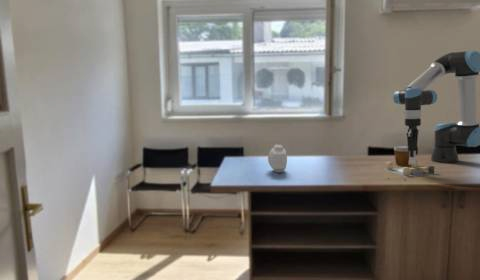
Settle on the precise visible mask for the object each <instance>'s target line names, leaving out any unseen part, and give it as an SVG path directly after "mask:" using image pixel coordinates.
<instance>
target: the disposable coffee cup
mask: <svg viewBox="0 0 480 280" xmlns="http://www.w3.org/2000/svg"><path fill="white" fill-rule="evenodd" d="M393 152H394V158H395V159H394V161H395V165H396V166H400V167H408V166H409V151H408V145H394V148H393Z"/></svg>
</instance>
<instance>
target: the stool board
mask: <svg viewBox="0 0 480 280" xmlns="http://www.w3.org/2000/svg"><path fill="white" fill-rule="evenodd" d="M416 167H418V160H417V159H416V163H411V166H400V167H394V162H392V161H387V162H386V168H384V170H385V171H387V172H389V173H393V174H395V175H398V176H401V177H404V179H403V180H407V179H405V178H406V177H407V178H408V177H409V178H410V177H418V176H419V177H420V176H430V175H439V174H440V173H438V172H435V171H434V173H423V170H416V171H413V174H409V168H416Z"/></svg>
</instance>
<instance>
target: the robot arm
mask: <svg viewBox="0 0 480 280" xmlns="http://www.w3.org/2000/svg"><path fill="white" fill-rule="evenodd" d="M447 74H454V77H455V78H456V79H457V81H458V121H457V122H447V123H438V124H437V123H436V125H435V127H434V147H433V151H432V154H431V156H430V161H432V162H436V163H445V164H446V163H449V164H451V163H453V164H454V163H458V162H459V160H460V159H459V155H458V151H457V146H461V147H468V148H470V147H471V148H472V147H473V148H476V147H478V146H480V122H479V121H478V120H477V81H476V80H477V77H478V76H479V75H480V52H479V51H477V50H467V51H466V50H465V51H456V52H450V53H445V54H444V55H442V56H439V58H437V59H436V60H434V61H433V62H432V63H431V64H430V65H429V67H428V69H426V70H425V71H424V72H422V73H421V74H420V75H419V76H417V78H416V79H414V80H413V81H412V82H411V83H409V85H407V86H406V87H404V89H403V90H396V91H395V92H394V93H393V96H392V100H393V102H394V103H395V104H397V105H405V106H404V107H405V109H404V111H403V113H404V118H405V119H404V125H405V127H408V128H407V132H406V138H407V146H408V151H409V163H410V164H412V163H416V160H417V159H416V157H417V155H416V153H417V151H418V138H419V137H418V136H419V132H420V131H419V129H418V127H419V126H421V125H422V123H421V122H422V118H421V117H422V106H431V105H433V104H435V103H436V102H437V100H438V94H437V92H436V91H435V90H432V89H427V88H428V87H430V86H431V84H432V83H434V82H436V80H438V79H439V78H441V77H444V76H445V75H447ZM426 89H427V90H426ZM409 163H408V164H409Z"/></svg>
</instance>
